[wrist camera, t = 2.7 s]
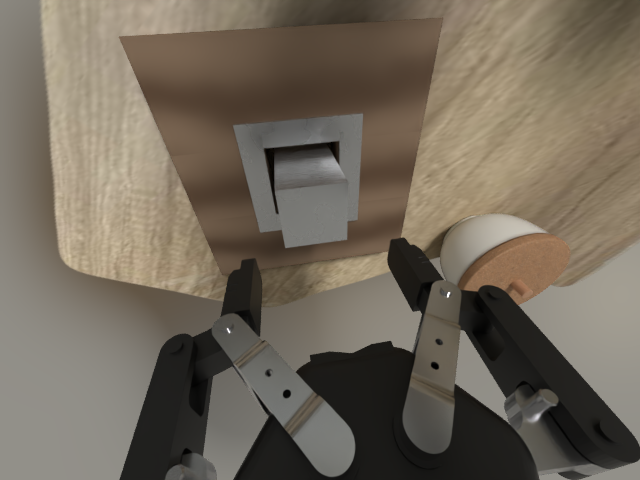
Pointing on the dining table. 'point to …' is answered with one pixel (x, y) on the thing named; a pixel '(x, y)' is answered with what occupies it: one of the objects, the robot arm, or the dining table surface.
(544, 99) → the dining table surface
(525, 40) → the dining table surface
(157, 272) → the dining table surface
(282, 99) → the mount plate
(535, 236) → the lidded bowl
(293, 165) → the brushed steel block
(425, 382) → the robot arm
